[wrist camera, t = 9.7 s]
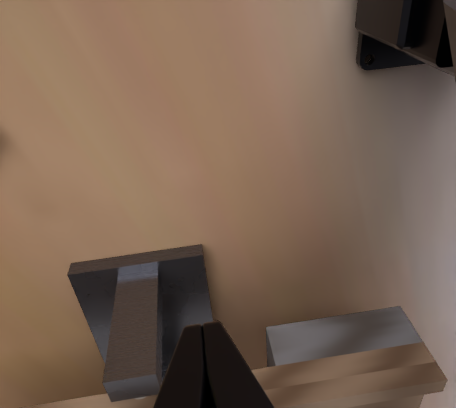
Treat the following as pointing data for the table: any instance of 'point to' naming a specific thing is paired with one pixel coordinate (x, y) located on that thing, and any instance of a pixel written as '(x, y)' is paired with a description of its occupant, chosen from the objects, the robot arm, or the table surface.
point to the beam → (332, 365)
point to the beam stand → (141, 313)
